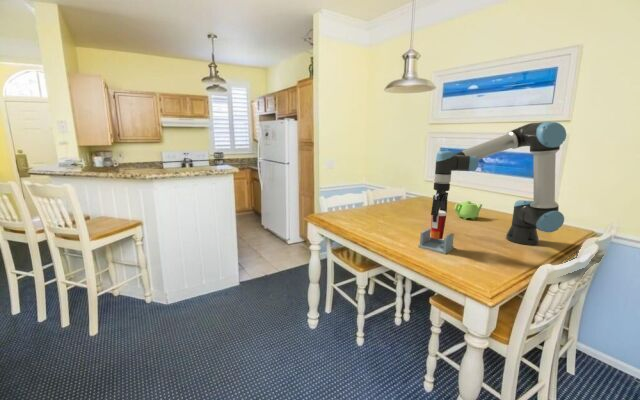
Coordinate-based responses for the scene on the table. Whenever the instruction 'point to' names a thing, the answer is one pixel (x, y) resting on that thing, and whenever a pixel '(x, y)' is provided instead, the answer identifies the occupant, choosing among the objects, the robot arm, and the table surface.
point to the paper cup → (439, 226)
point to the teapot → (467, 210)
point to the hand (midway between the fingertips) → (437, 226)
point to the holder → (436, 242)
